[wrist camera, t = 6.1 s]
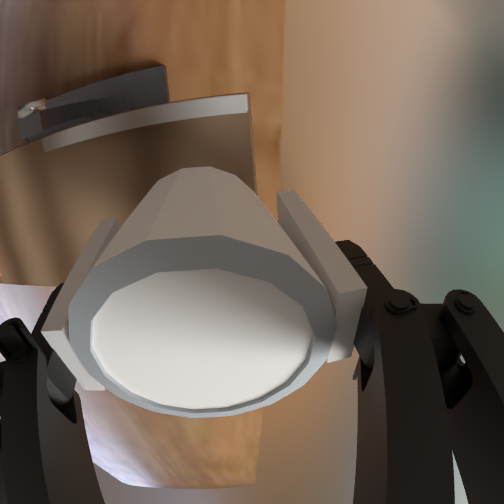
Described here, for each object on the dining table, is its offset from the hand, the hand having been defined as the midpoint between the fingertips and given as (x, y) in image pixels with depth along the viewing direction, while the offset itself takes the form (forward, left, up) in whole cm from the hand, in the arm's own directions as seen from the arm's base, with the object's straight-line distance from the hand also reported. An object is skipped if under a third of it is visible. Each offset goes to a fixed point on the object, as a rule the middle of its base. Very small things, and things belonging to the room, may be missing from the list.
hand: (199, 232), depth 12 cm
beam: (0, -10, -8) cm, 13 cm away
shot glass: (0, 0, -1) cm, 1 cm away
